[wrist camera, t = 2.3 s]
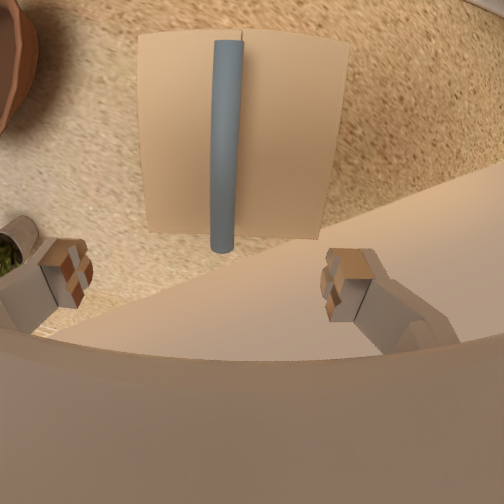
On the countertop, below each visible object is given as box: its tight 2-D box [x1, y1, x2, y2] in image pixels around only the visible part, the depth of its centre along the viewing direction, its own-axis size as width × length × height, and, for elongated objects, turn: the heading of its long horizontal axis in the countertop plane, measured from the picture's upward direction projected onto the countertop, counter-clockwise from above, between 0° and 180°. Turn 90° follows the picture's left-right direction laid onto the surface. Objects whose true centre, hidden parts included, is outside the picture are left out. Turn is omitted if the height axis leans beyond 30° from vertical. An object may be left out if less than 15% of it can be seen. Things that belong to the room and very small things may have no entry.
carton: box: [139, 28, 350, 240], centre depth 26 cm, size 16×18×11 cm
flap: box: [137, 30, 245, 254], centre depth 20 cm, size 8×18×5 cm, turn 176°
